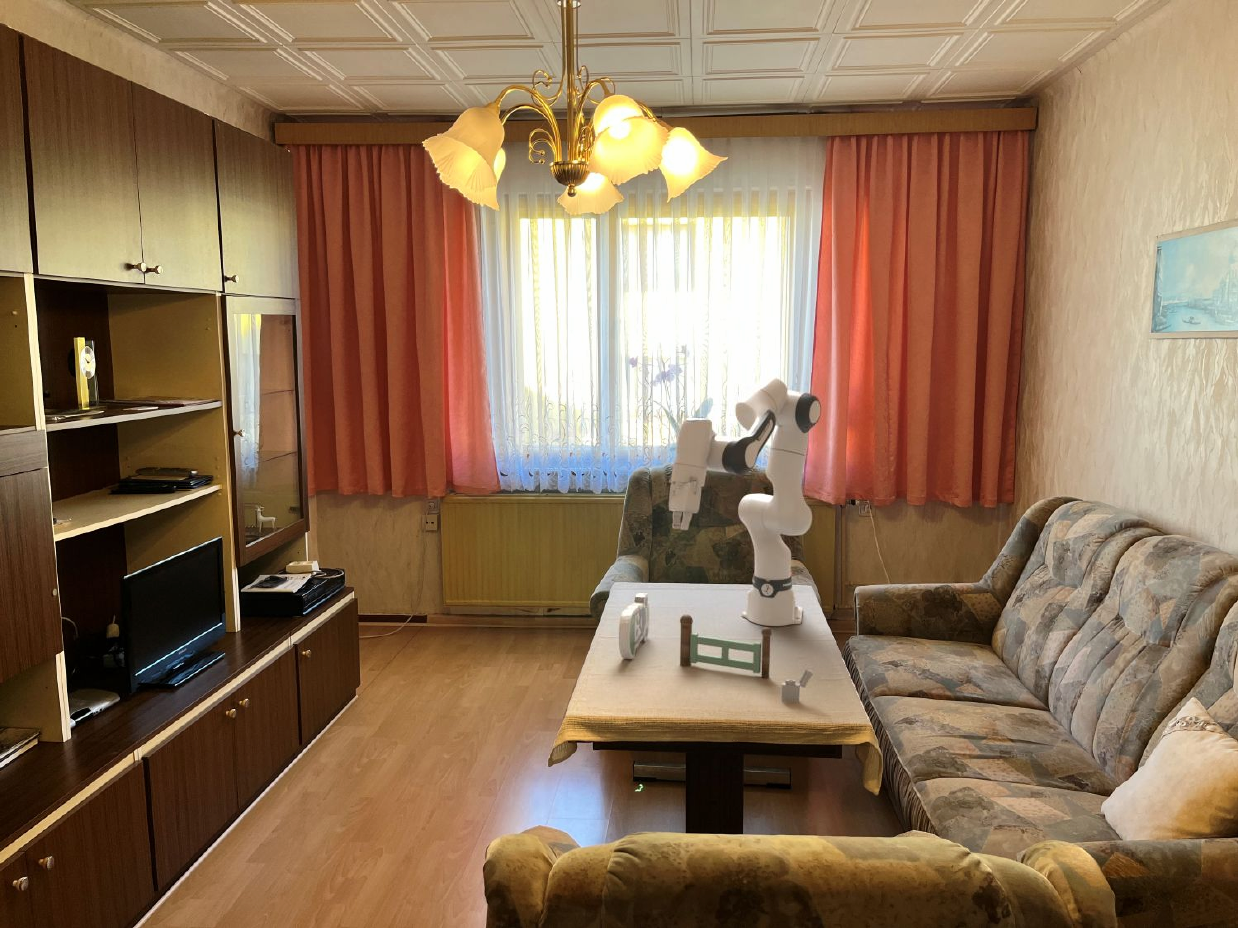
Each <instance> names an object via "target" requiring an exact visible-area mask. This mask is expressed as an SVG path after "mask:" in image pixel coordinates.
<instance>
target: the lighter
mask: <svg viewBox="0 0 1238 928" xmlns="http://www.w3.org/2000/svg"><path fill="white" fill-rule="evenodd" d="M812 676H813V671H812V670H810V669H808V668H806V669H805V671H804V673H803V674H802V677H801V678H800V680H799V681H798V682H796V680H795V679H786V680H785V681H784V682H781V698H780V699H781V702H782V703H800V689H801V688H800V687H802V688H806V686H807V685H808V683H809V680H810V679H811V677H812Z"/></svg>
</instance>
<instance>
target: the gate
mask: <svg viewBox="0 0 1238 928" xmlns="http://www.w3.org/2000/svg"><path fill="white" fill-rule="evenodd" d="M699 645H703V646H709V647H717V648H721V656H718V655H712V654H706V653H700V652H699ZM729 649H730V650H737V651H743V652H749V653H753V654H752V655H753V657H752V661H751V660H745V659H739V658H732V657H729V652H730V651H729ZM690 663H691V664H697V663H702V664H709V665H715V666H719V667H720V666H721V667H728V668H734V669H741V670H748V671H752V673H753V674H758V675H759V674H761V672H762V641H754V642H748V641H747V642H746V641H741V640H735V639H726V638H722V637H721V638H720V637H713V636H705V635H699V632H693V631H692V633H691V634H690Z"/></svg>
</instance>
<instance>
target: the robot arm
mask: <svg viewBox="0 0 1238 928" xmlns="http://www.w3.org/2000/svg"><path fill="white" fill-rule="evenodd" d="M736 402H737V403H736V404H735V409H734V411H735V416H736V419H737V421H738V423H739V425H741V426H742V428H744V429H745V430H746V431H748V432H747V433H746V435H743V436H723V435H718V434H717V433H716V432H715V431H714V429H713V421H712V420H711V419H709V418H701V417H699V418H697V417H688V418H686V419H684V420H683V421H682V424H681V427H680V429H679V433H678V438H677V442H676V458H675V459H674V462H673V465H672V466H673V467H672V471H671V473H670V476H669V481H668V482H669V483H670V488H669V498H668V510H669V511H670V512H672V525H671V526H672V527H671V528H672V529H677V530H678V529H680V530H684V531H689V527H690V522H691V520H692V517H693V514H698V513H699V510H700V506H701V495H702V487H705V482H706V477H707V471H712V472H717V473H718V472H720V473H728V474H732V475H737V476H745V475H747V474H748V473H749V472H750V471H751V470H752V469H753V468H754V467H755V465H756V463H757V460H758V457H759V454H760V453H761V452H762V450H763V449H764V447H765V446H766V444H767V442H768V441H769V440H770V438H771V436H772V434H773V432H774V430H775V427H776V430H775V432H774V435H773V437H772V441H771V446H770V449H769V453H768V458H767V463H766V467H765V476H766V478H767V479H768V480H769V481H770V482H771V484H772V487H773V495H770V494H765V493H749V494H746V495H744V496H743V497H742V498H741V500H740V502H739V504H738V507H737V508H738V509H737V513H738V517H739V520H740V522H742V524H744V526H745V527H746V529H747V531H748V533H749V535H750V537H751V541H752V545H753V551H754V573H753V575H752V588H750V589H749V590H748V592H747V599H746V610H743V611H742V612H741V617H742V618H743V617H744V618H746V619H747V620H748V621H750V622H752V623H754V624H758V625H760V626H766V627H767V626H768V627H769V626H770V627H782V626H783V627H784V626H788V625H800V624H802V620H803V607H802V606H798V605H796V604H797V603H796V602H797V594H796V592H795V590H794V589H793V572H792V570H791V569H792V552H791V550H790V548H789V547H788V546H787V544H785V542H784V540H783V538H782V536H781V535H784V536H803V535H804V534H806V533H807V532H808V531H809V529H810V528H811V526H812V521H813V514H812V510H811V508H810V507H809V505H808V504H807V503H806V501H805V499H804V498H805V497H804V493H803V490H802V489H803V488H802V478H803V472H804V468H805V462H806V459H807V453H808V449H809V448H808V446H809V438H810V437H809V436H810V435H809V434H810V432H809V431H811V429H812V428H814V427H815V426H816V425H817V423H818V421H819V420H820V417H821V414H822V413H821V412H822V405H821V401H820V400H819V398H818V397H817V395H814V394H812V393H808V392H801V391H797V390H791V389H788V387H787V385H786V383H784V381H782V380H781V379H780V378H777V377H773V376H772V377H771V376H770V377H767V378H764V379H762V380H760V381H758V382H756V383H755V384H754V385H752V386H750V388H749V389H747V391H746V392H744V393H743V395H741V397H740V398H739V399H738V401H736ZM681 517H682V518H681ZM681 519H682V520H681Z"/></svg>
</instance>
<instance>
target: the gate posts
mask: <svg viewBox="0 0 1238 928" xmlns="http://www.w3.org/2000/svg"><path fill="white" fill-rule="evenodd" d="M693 622H694V621H693V618H692V616H691V615H689V614H683V615H682V616H681V617H680V619H679V623H680V641H679V642H680V645H679V646H680V647H679V648H680V649H679V651H680V652H679V655H680V656H679V665H680V666H681V667H691V666H692V663H690V634H691V633H692V632H693ZM772 633H773V632H772V630H771V628H770V627H767V626H766V627H764V628H762V629H761V636H762V641H761V672H760V674H761V675H760V676H761V678H762V679H770V661H771V659H770V658H771V636H772Z"/></svg>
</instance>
